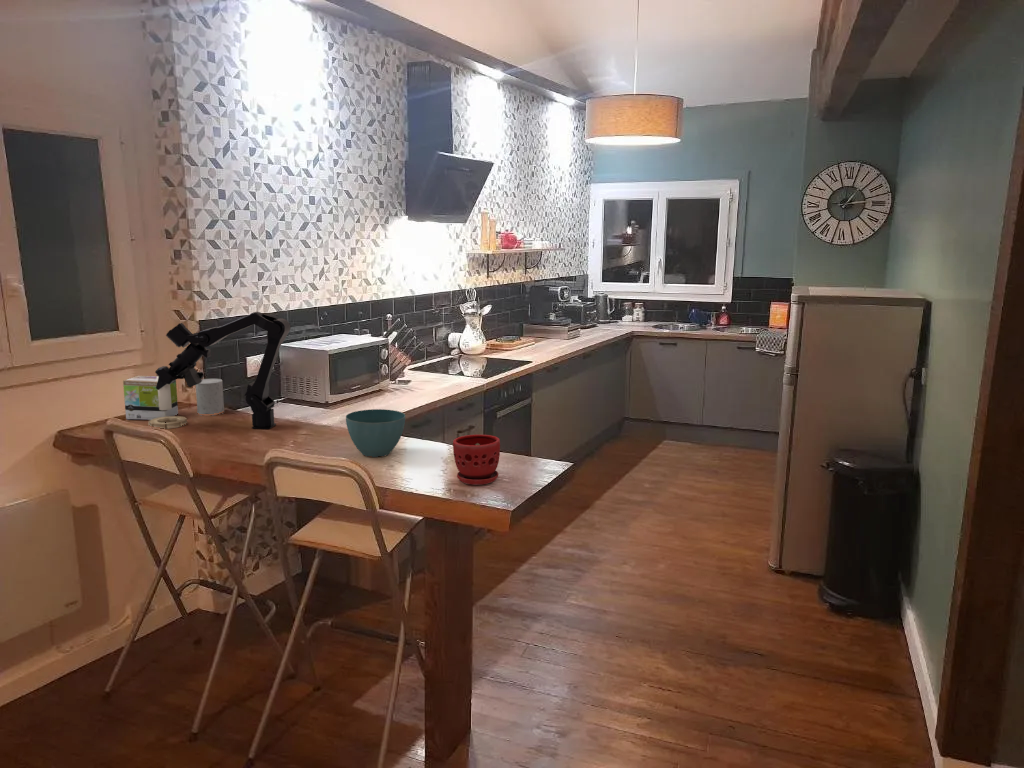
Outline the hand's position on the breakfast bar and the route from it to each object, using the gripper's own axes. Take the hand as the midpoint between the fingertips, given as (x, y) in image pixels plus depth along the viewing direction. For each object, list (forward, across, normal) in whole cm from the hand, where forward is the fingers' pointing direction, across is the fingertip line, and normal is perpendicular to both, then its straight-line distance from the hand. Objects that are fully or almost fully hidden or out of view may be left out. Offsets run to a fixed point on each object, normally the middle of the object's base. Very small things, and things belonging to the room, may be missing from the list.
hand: (160, 387), depth 257 cm
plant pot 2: (-70, -55, -90) cm, 126 cm away
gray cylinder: (+3, +20, -16) cm, 26 cm away
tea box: (+16, +11, -3) cm, 20 cm away
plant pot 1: (-47, -30, -67) cm, 87 cm away
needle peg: (+4, 0, -6) cm, 8 cm away
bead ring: (+9, +1, -10) cm, 14 cm away
